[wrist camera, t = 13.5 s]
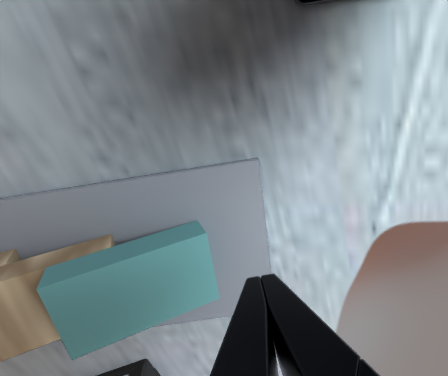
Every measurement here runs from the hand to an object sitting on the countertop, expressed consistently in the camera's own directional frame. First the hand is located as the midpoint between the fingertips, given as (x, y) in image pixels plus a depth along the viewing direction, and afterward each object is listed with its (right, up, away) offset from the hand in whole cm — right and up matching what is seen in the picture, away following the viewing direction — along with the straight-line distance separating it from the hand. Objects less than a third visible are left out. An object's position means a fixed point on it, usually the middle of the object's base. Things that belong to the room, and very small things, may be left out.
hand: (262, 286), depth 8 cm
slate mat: (-10, -3, +11) cm, 15 cm away
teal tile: (-2, -2, +10) cm, 10 cm away
